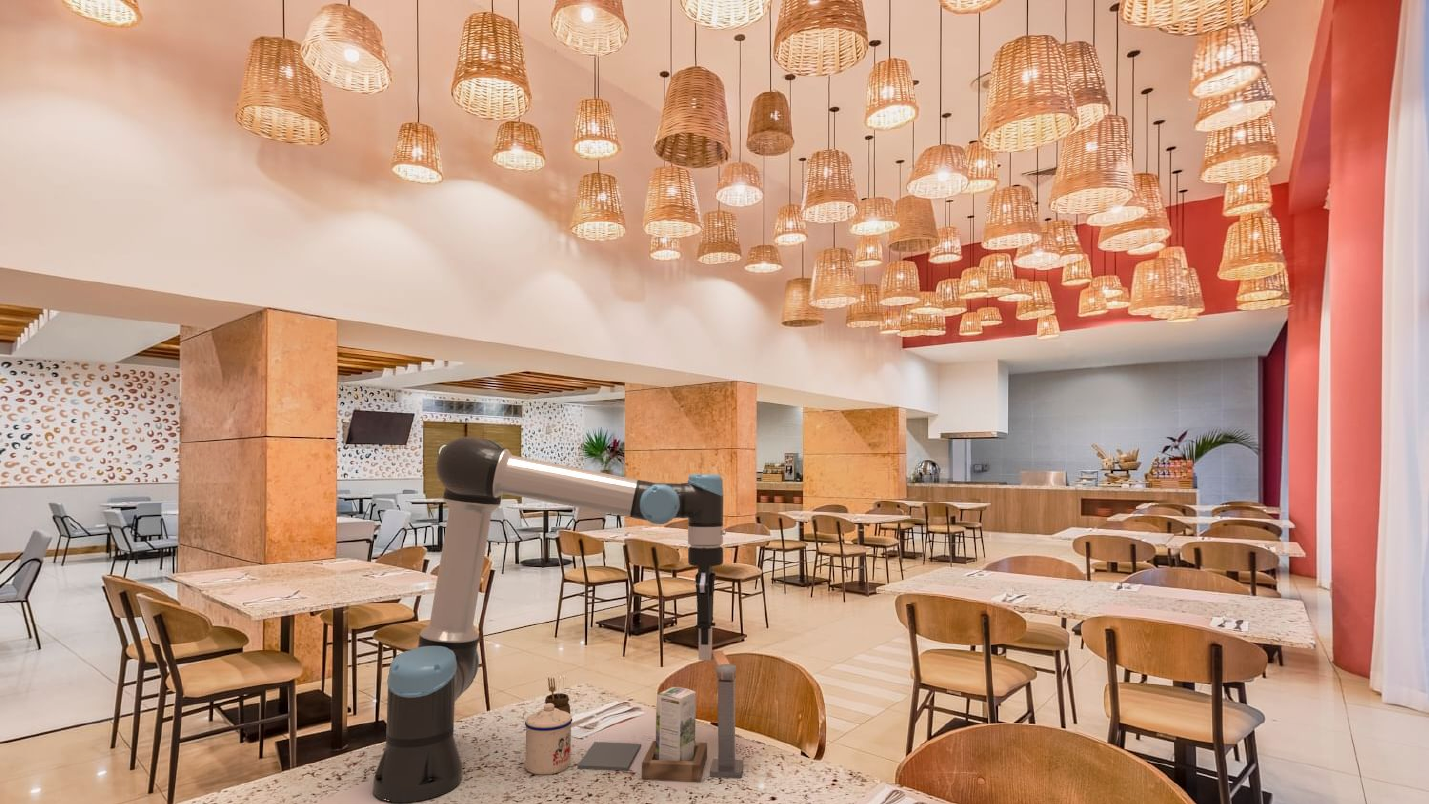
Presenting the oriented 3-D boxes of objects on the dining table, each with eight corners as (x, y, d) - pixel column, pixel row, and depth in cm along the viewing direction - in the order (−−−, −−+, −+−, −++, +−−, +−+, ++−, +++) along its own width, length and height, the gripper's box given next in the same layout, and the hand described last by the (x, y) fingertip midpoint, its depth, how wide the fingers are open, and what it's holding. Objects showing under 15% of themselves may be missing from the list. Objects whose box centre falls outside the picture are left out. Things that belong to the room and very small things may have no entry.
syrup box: (670, 760, 142) (671, 685, 143) (696, 766, 139) (696, 689, 140) (654, 770, 137) (655, 693, 138) (680, 777, 134) (680, 697, 135)
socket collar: (641, 779, 133) (641, 762, 133) (653, 755, 144) (653, 740, 144) (700, 782, 132) (699, 765, 132) (707, 758, 143) (707, 742, 143)
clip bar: (708, 657, 152) (708, 648, 153) (725, 657, 153) (725, 647, 153) (718, 680, 136) (718, 669, 136) (737, 679, 137) (737, 668, 137)
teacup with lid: (560, 777, 134) (562, 713, 135) (515, 774, 135) (517, 710, 136) (583, 752, 145) (584, 694, 147) (541, 749, 147) (543, 691, 148)
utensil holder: (574, 725, 161) (575, 670, 162) (562, 735, 155) (563, 678, 156) (550, 723, 162) (551, 669, 164) (537, 733, 156) (538, 676, 158)
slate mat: (577, 768, 138) (577, 765, 138) (594, 744, 150) (594, 741, 150) (627, 770, 137) (627, 767, 137) (640, 746, 149) (640, 743, 149)
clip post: (709, 776, 134) (709, 683, 136) (713, 763, 140) (713, 674, 142) (741, 778, 133) (740, 684, 135) (743, 765, 139) (743, 675, 141)
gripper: (719, 549, 146) (719, 668, 143) (725, 543, 158) (725, 652, 156) (683, 549, 146) (683, 666, 144) (692, 542, 159) (692, 650, 157)
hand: (705, 659), depth 150 cm, fingers closed
